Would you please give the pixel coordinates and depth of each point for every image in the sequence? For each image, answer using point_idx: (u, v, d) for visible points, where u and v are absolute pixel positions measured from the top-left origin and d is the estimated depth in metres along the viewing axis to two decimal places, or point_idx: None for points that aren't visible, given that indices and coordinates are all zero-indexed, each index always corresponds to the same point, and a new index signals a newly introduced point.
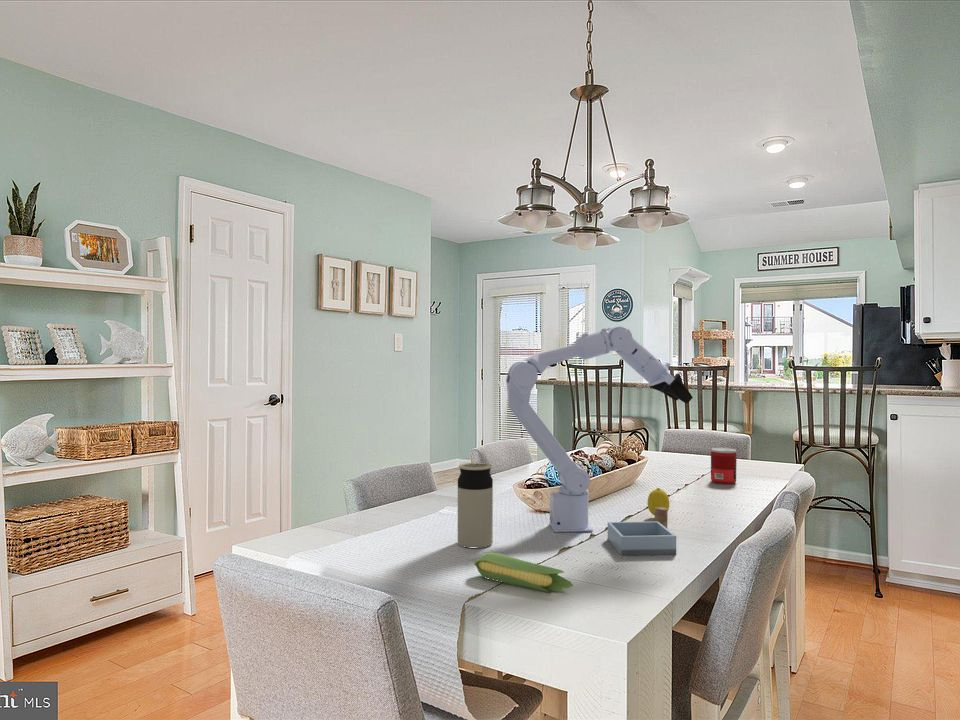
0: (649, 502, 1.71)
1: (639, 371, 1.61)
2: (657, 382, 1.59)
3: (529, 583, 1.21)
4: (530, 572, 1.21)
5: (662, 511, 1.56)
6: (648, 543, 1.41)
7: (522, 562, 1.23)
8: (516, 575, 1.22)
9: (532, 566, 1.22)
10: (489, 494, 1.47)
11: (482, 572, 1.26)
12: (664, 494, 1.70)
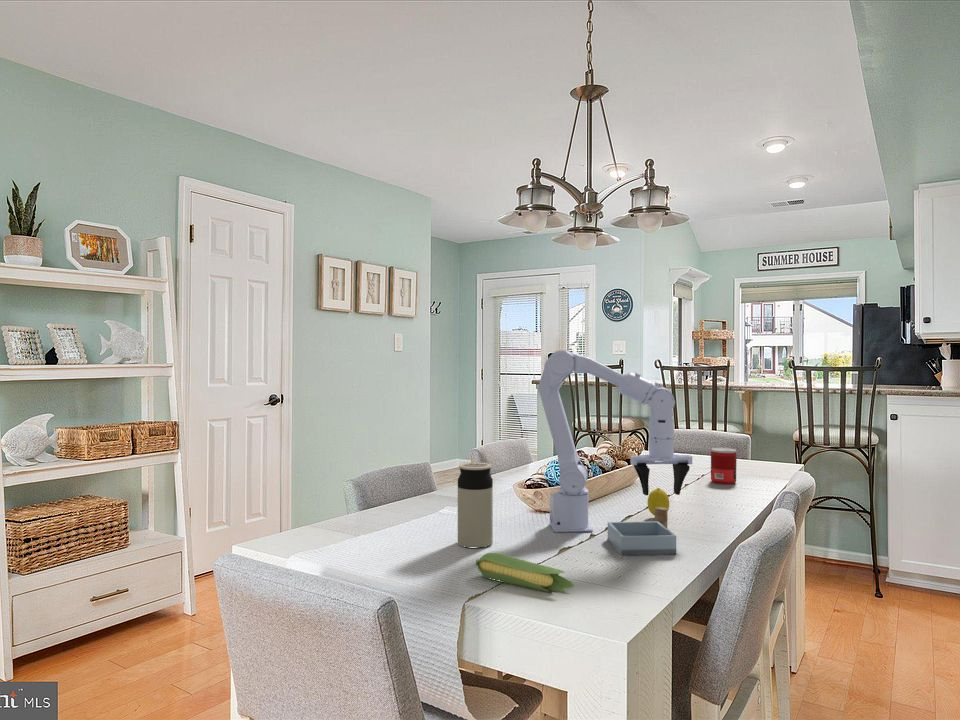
0: (649, 502, 1.71)
1: None
2: None
3: (529, 583, 1.21)
4: (531, 572, 1.21)
5: (662, 511, 1.56)
6: (648, 543, 1.41)
7: (523, 562, 1.23)
8: (517, 575, 1.22)
9: (533, 566, 1.22)
10: (489, 494, 1.47)
11: (483, 572, 1.26)
12: (664, 494, 1.70)
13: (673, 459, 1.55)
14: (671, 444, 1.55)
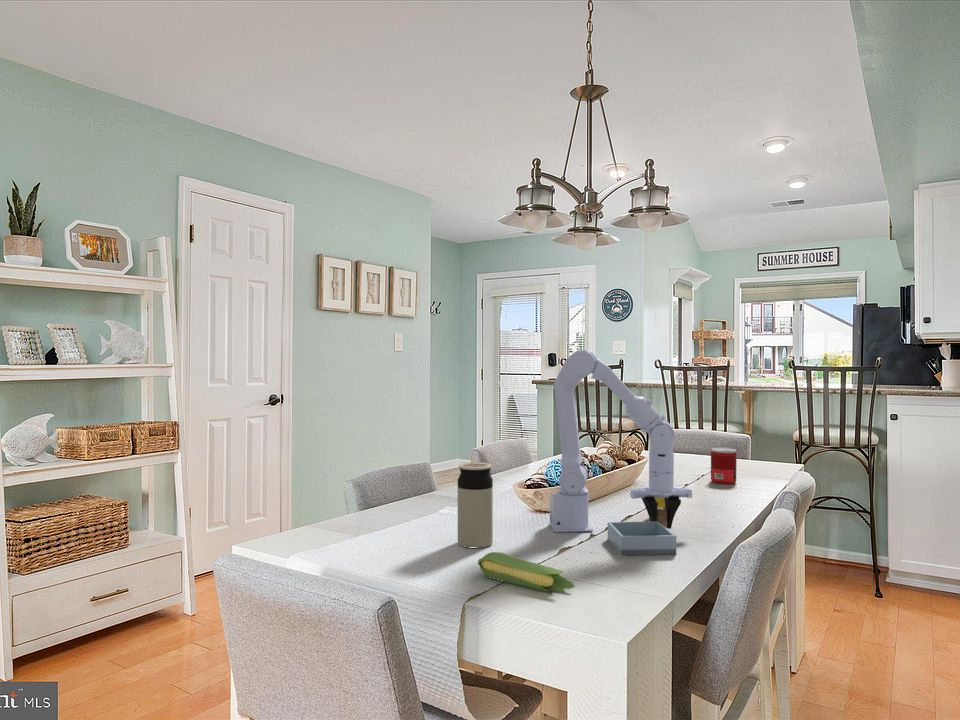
0: None
1: None
2: None
3: (530, 583, 1.21)
4: (532, 572, 1.21)
5: (662, 511, 1.56)
6: (648, 543, 1.41)
7: (524, 562, 1.23)
8: (518, 575, 1.22)
9: (534, 566, 1.22)
10: (489, 494, 1.47)
11: (485, 571, 1.26)
12: None
13: (673, 493, 1.55)
14: (671, 478, 1.55)
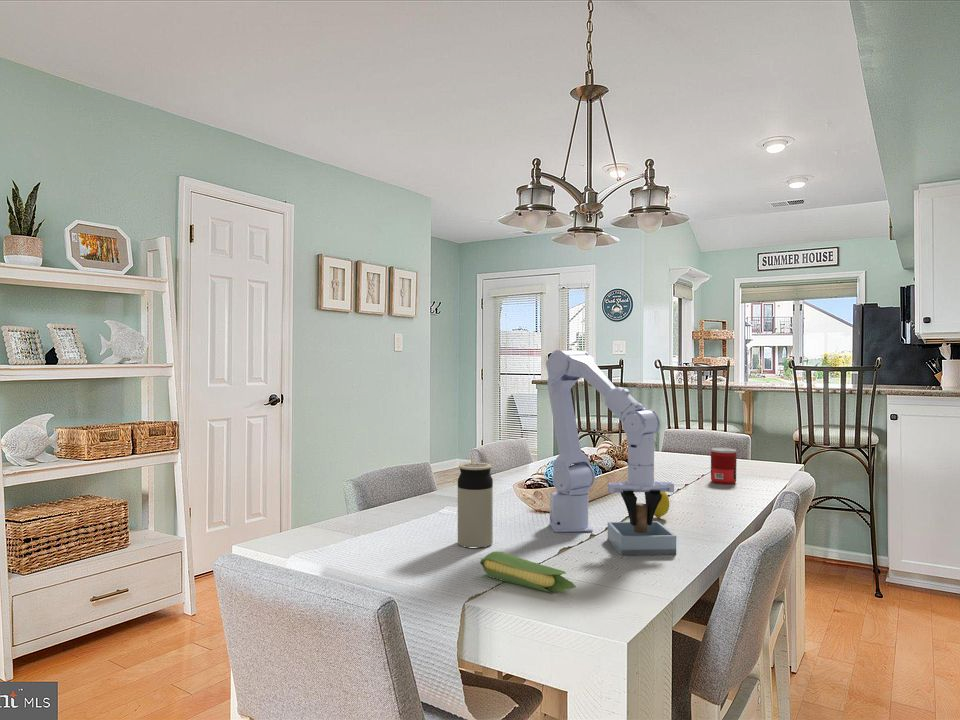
0: None
1: None
2: None
3: (531, 583, 1.21)
4: (533, 572, 1.21)
5: (640, 507, 1.46)
6: (648, 543, 1.41)
7: (526, 562, 1.23)
8: (519, 575, 1.22)
9: (535, 566, 1.22)
10: (490, 494, 1.47)
11: (487, 571, 1.26)
12: (664, 494, 1.70)
13: (653, 487, 1.44)
14: (651, 471, 1.45)
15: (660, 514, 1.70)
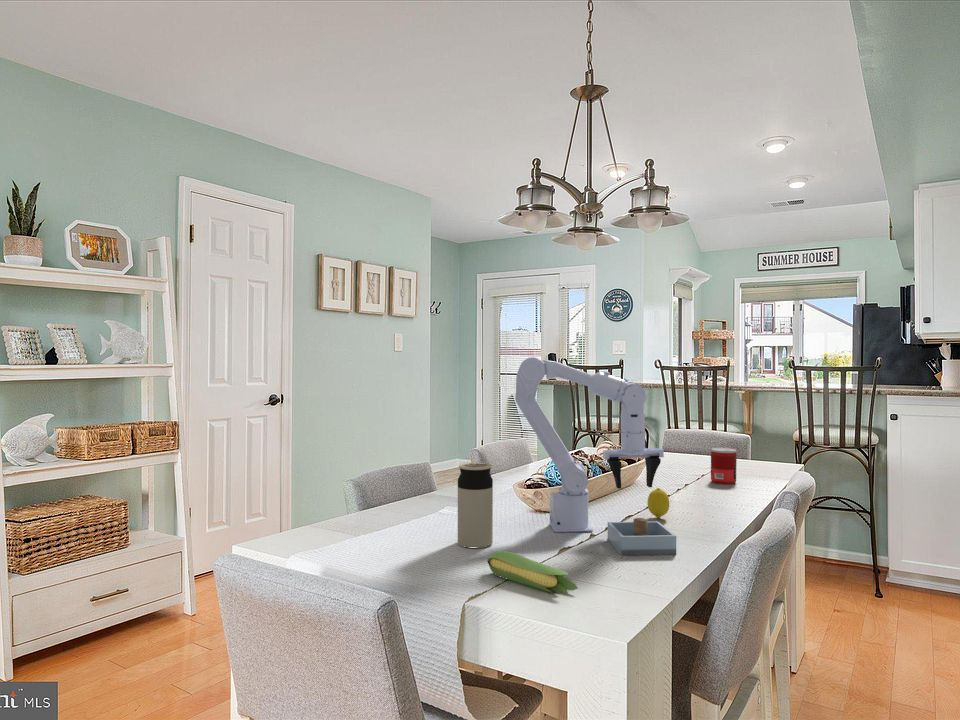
0: (649, 502, 1.71)
1: None
2: None
3: (534, 583, 1.21)
4: (536, 572, 1.21)
5: (640, 522, 1.46)
6: (648, 543, 1.41)
7: (530, 562, 1.24)
8: (522, 574, 1.22)
9: (539, 566, 1.22)
10: (489, 494, 1.47)
11: (492, 569, 1.27)
12: (664, 494, 1.70)
13: (644, 452, 1.58)
14: (642, 438, 1.59)
15: (660, 514, 1.70)
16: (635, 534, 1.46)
